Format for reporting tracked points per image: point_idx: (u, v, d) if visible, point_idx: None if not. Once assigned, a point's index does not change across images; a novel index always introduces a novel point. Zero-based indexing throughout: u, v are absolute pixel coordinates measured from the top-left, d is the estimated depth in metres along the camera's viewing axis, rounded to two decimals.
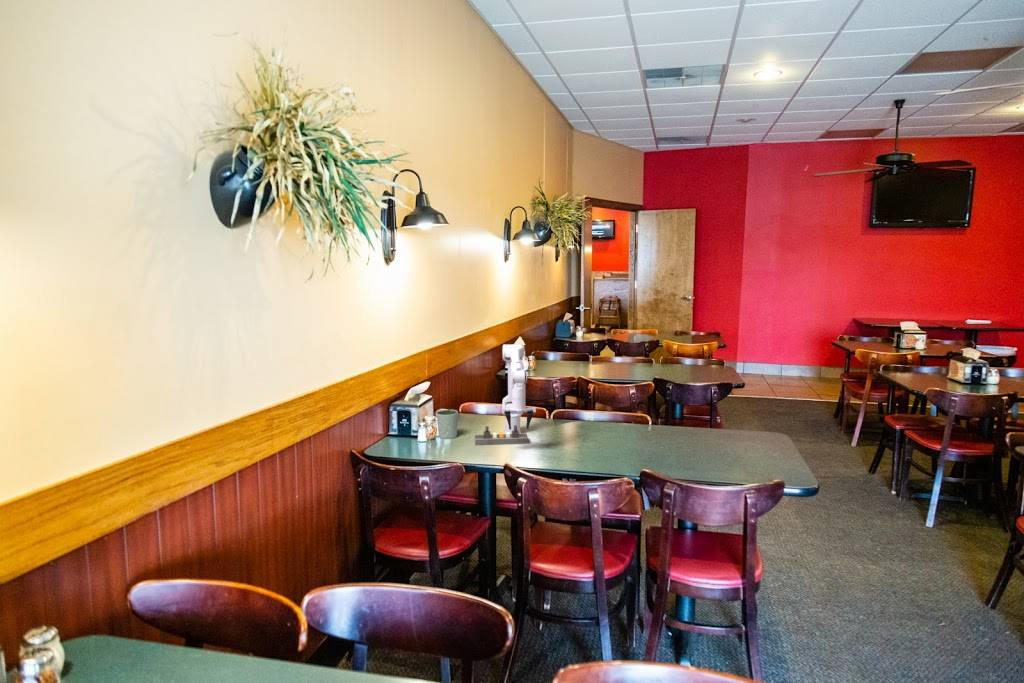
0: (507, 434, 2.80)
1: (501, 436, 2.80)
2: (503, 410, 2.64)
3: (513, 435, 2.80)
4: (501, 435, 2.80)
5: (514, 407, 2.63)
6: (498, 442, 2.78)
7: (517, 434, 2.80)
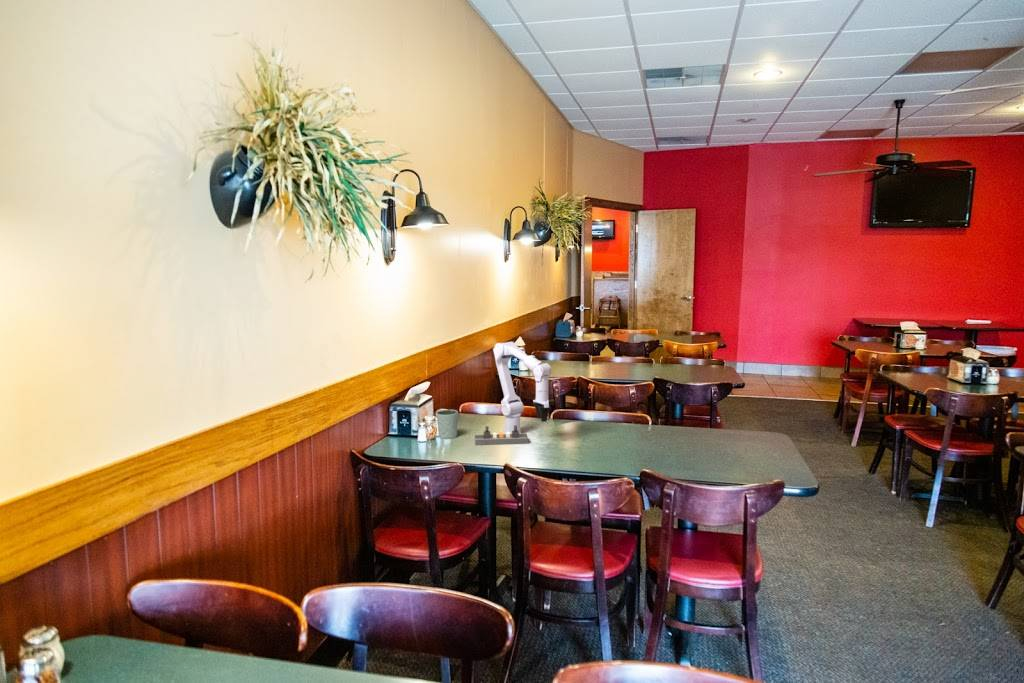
0: (507, 434, 2.80)
1: (501, 436, 2.80)
2: None
3: (513, 435, 2.80)
4: (501, 435, 2.80)
5: None
6: (498, 442, 2.78)
7: (517, 434, 2.80)
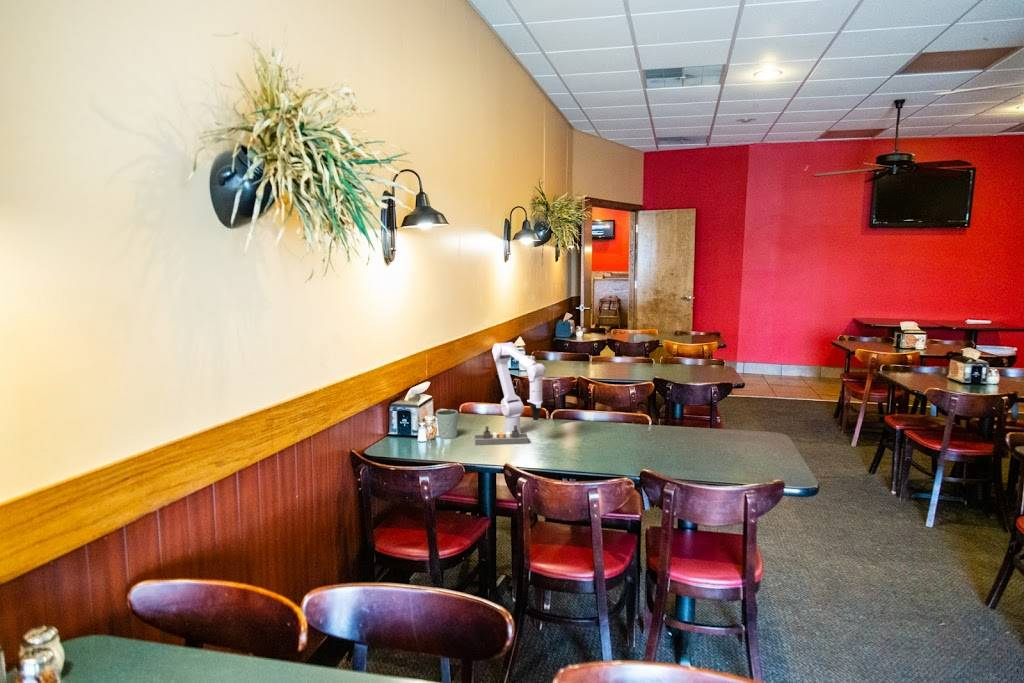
0: (507, 434, 2.80)
1: (501, 436, 2.80)
2: None
3: (513, 435, 2.80)
4: (501, 435, 2.80)
5: None
6: (498, 442, 2.78)
7: (517, 434, 2.80)
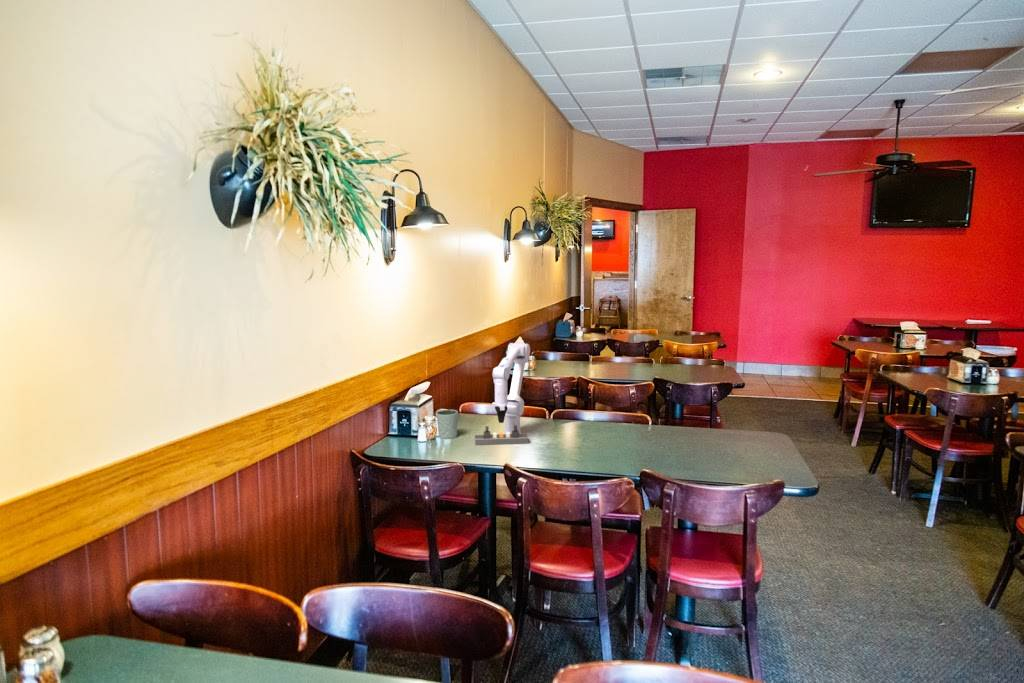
0: (507, 434, 2.80)
1: (501, 436, 2.80)
2: None
3: (513, 435, 2.80)
4: (501, 435, 2.80)
5: None
6: (498, 442, 2.78)
7: (517, 434, 2.80)
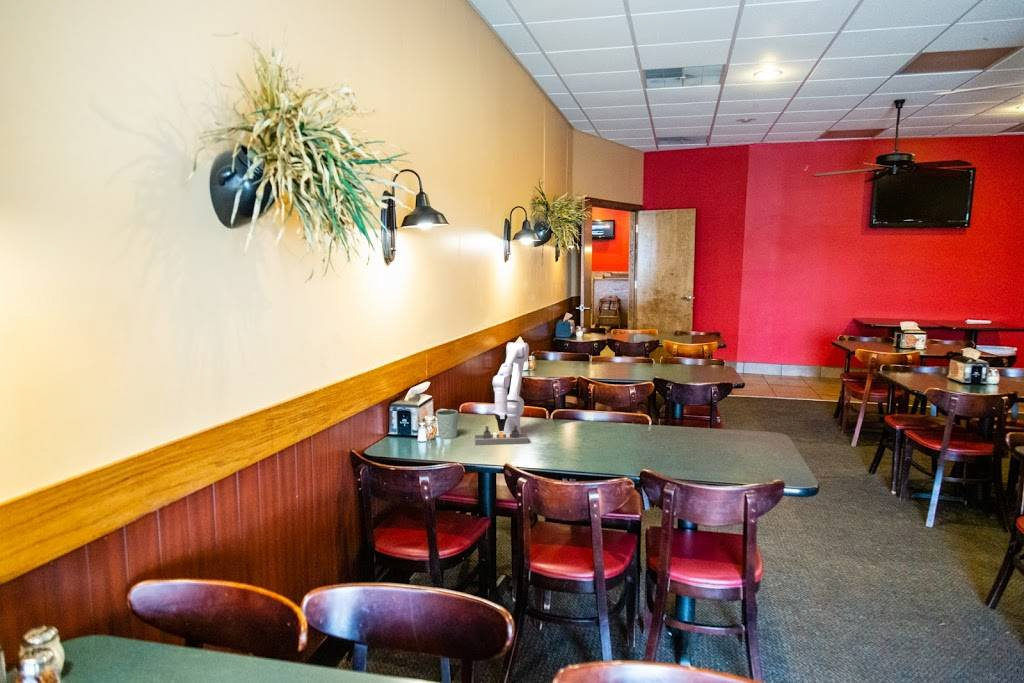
0: (507, 434, 2.80)
1: (501, 436, 2.80)
2: None
3: (513, 435, 2.80)
4: (501, 435, 2.80)
5: None
6: (498, 442, 2.78)
7: (517, 434, 2.80)
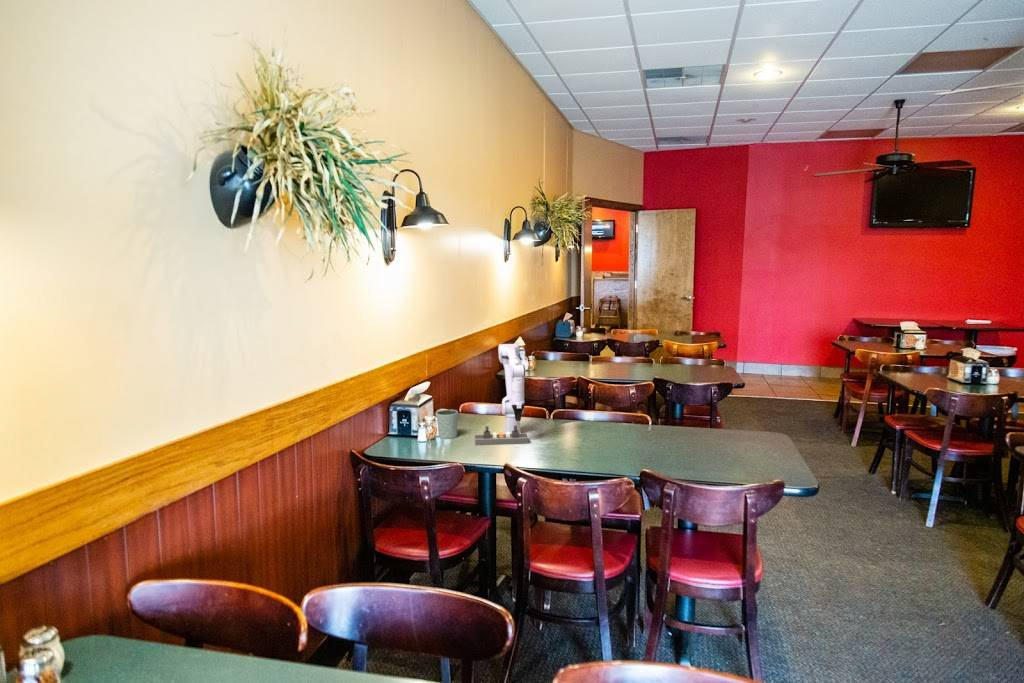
0: (507, 434, 2.80)
1: (501, 436, 2.80)
2: None
3: (513, 435, 2.80)
4: (501, 435, 2.80)
5: None
6: (498, 442, 2.78)
7: (517, 434, 2.80)
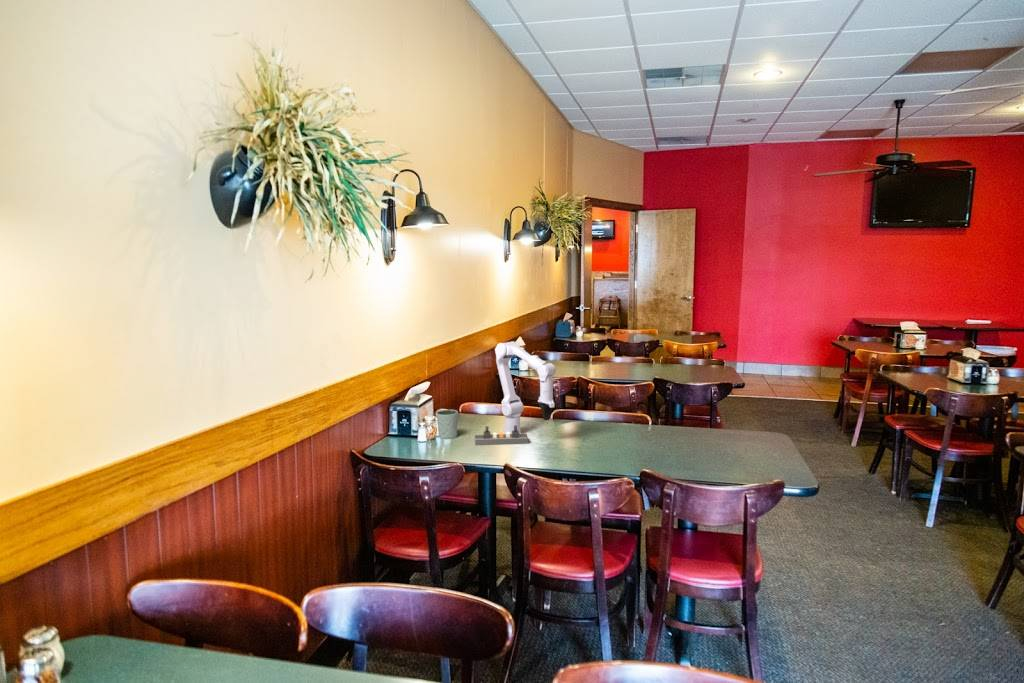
0: (507, 434, 2.80)
1: (501, 436, 2.80)
2: (539, 398, 2.85)
3: (513, 435, 2.80)
4: (501, 435, 2.80)
5: None
6: (498, 442, 2.78)
7: (517, 434, 2.80)
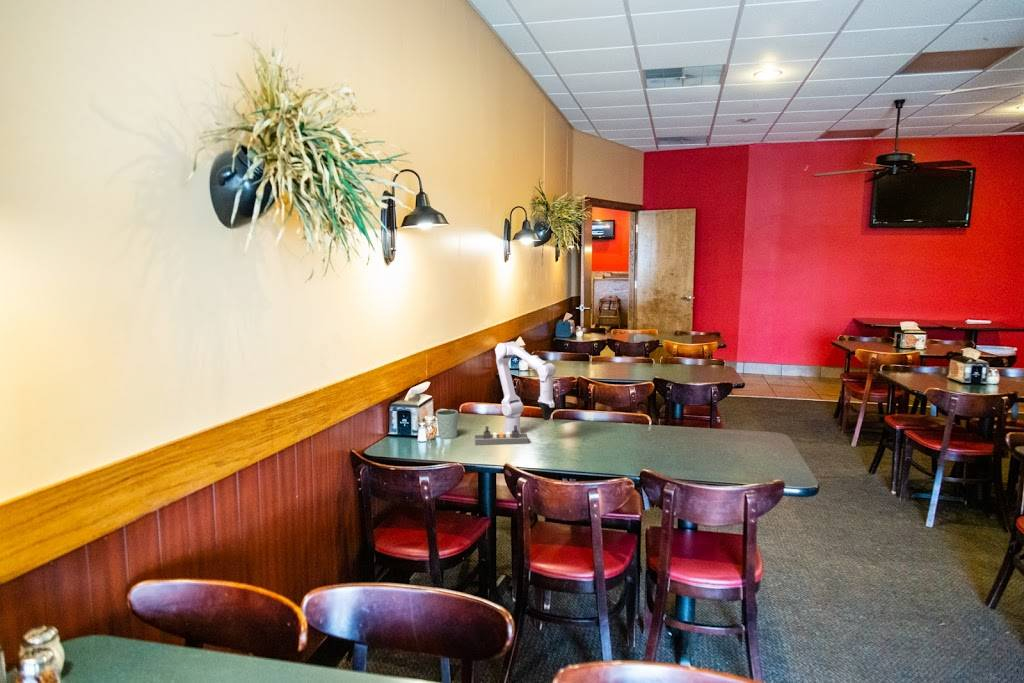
0: (507, 434, 2.80)
1: (501, 436, 2.80)
2: (539, 398, 2.85)
3: (513, 435, 2.80)
4: (501, 435, 2.80)
5: None
6: (498, 442, 2.78)
7: (517, 434, 2.80)
